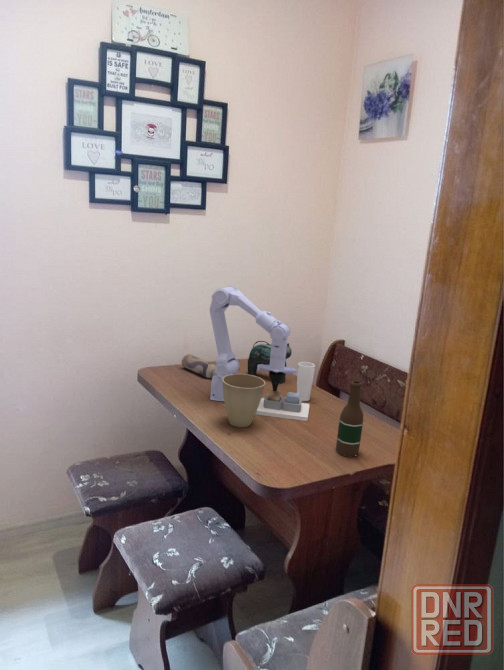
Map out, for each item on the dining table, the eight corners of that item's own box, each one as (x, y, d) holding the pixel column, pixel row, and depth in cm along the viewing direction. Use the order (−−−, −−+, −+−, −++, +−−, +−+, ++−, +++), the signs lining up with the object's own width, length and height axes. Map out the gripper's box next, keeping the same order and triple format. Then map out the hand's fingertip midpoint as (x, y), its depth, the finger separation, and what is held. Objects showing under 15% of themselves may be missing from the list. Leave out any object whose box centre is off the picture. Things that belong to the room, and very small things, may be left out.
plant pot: (230, 434, 180) (233, 389, 176) (212, 417, 193) (215, 375, 189) (269, 429, 187) (273, 385, 183) (249, 412, 200) (253, 372, 196)
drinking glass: (310, 403, 214) (314, 367, 210) (293, 401, 215) (297, 365, 212) (311, 397, 220) (315, 363, 217) (295, 395, 222) (299, 360, 218)
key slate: (286, 402, 201) (286, 395, 200) (287, 398, 205) (287, 391, 205) (297, 403, 200) (298, 397, 200) (298, 399, 205) (299, 393, 204)
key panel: (253, 414, 199) (254, 402, 198) (258, 400, 212) (259, 390, 211) (307, 421, 196) (308, 409, 195) (309, 407, 210) (310, 396, 209)
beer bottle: (332, 446, 178) (341, 377, 172) (355, 447, 178) (365, 378, 173) (338, 457, 170) (347, 385, 164) (362, 458, 171) (372, 386, 165)
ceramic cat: (289, 382, 237) (293, 338, 232) (282, 386, 232) (286, 341, 227) (251, 372, 247) (255, 329, 242) (243, 375, 242) (247, 332, 237)
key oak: (267, 399, 202) (268, 393, 201) (268, 395, 206) (269, 389, 205) (279, 401, 201) (279, 394, 201) (280, 397, 206) (280, 391, 205)
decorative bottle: (179, 369, 244) (180, 354, 242) (192, 366, 249) (193, 352, 247) (216, 385, 226) (218, 370, 225) (230, 382, 231) (231, 367, 230)
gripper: (257, 356, 197) (254, 391, 200) (296, 361, 195) (293, 396, 198) (259, 351, 203) (257, 385, 207) (298, 356, 202) (294, 390, 205)
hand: (274, 390), depth 203 cm, fingers closed
